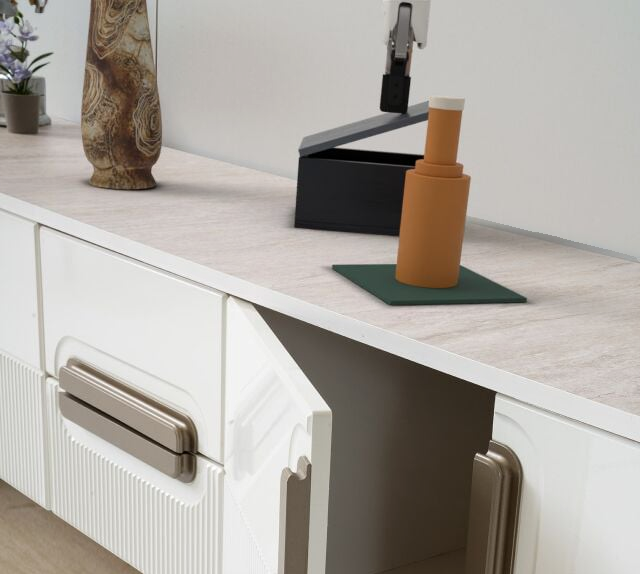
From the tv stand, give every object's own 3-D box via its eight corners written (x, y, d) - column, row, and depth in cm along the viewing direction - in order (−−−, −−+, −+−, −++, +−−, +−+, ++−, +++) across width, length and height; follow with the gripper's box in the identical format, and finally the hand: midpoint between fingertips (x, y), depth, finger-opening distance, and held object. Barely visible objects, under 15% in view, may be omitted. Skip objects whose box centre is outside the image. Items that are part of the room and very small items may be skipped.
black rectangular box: (423, 219, 141) (430, 155, 138) (428, 238, 130) (436, 169, 127) (299, 208, 141) (303, 144, 138) (294, 227, 130) (298, 157, 127)
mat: (456, 267, 116) (457, 263, 116) (526, 302, 105) (527, 297, 104) (331, 268, 111) (332, 264, 111) (390, 305, 100) (390, 300, 99)
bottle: (440, 272, 111) (461, 94, 105) (468, 287, 106) (492, 101, 100) (385, 273, 109) (403, 91, 103) (411, 288, 104) (432, 98, 98)
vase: (170, 191, 146) (175, -65, 134) (88, 190, 142) (86, -73, 130) (149, 178, 154) (153, -63, 143) (71, 177, 150) (68, -72, 139)
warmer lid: (435, 106, 136) (434, 99, 136) (443, 115, 124) (441, 108, 124) (305, 144, 138) (303, 137, 138) (300, 157, 127) (298, 149, 126)
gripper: (450, -64, 116) (428, 121, 124) (440, -57, 130) (422, 109, 137) (378, -70, 116) (360, 115, 124) (376, -63, 130) (360, 103, 137)
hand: (393, 111), depth 130 cm, fingers closed
